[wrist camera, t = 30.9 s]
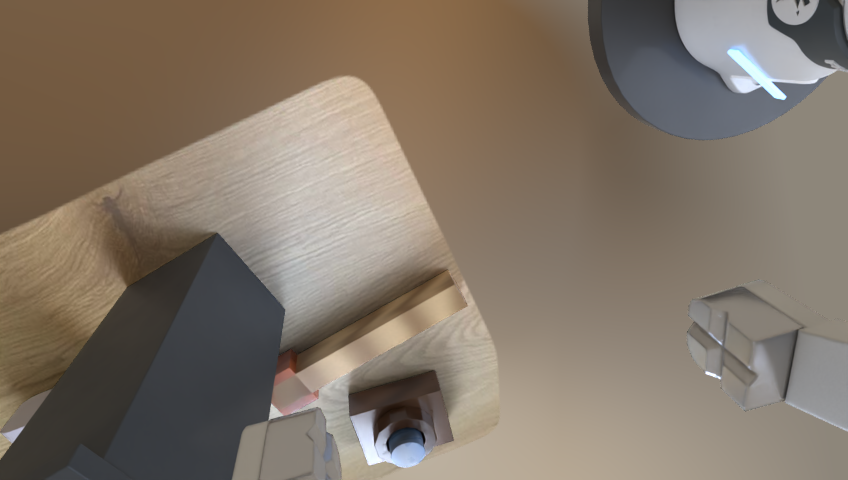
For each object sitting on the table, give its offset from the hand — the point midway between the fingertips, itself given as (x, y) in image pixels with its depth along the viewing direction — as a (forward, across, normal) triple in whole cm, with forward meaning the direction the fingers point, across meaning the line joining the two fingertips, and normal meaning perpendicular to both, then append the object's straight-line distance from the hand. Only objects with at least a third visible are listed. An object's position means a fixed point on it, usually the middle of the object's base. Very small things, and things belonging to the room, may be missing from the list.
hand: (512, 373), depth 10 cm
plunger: (+30, +6, +34) cm, 45 cm away
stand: (+34, +20, +14) cm, 42 cm away
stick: (+34, +7, +22) cm, 41 cm away
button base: (+34, +6, +34) cm, 48 cm away
